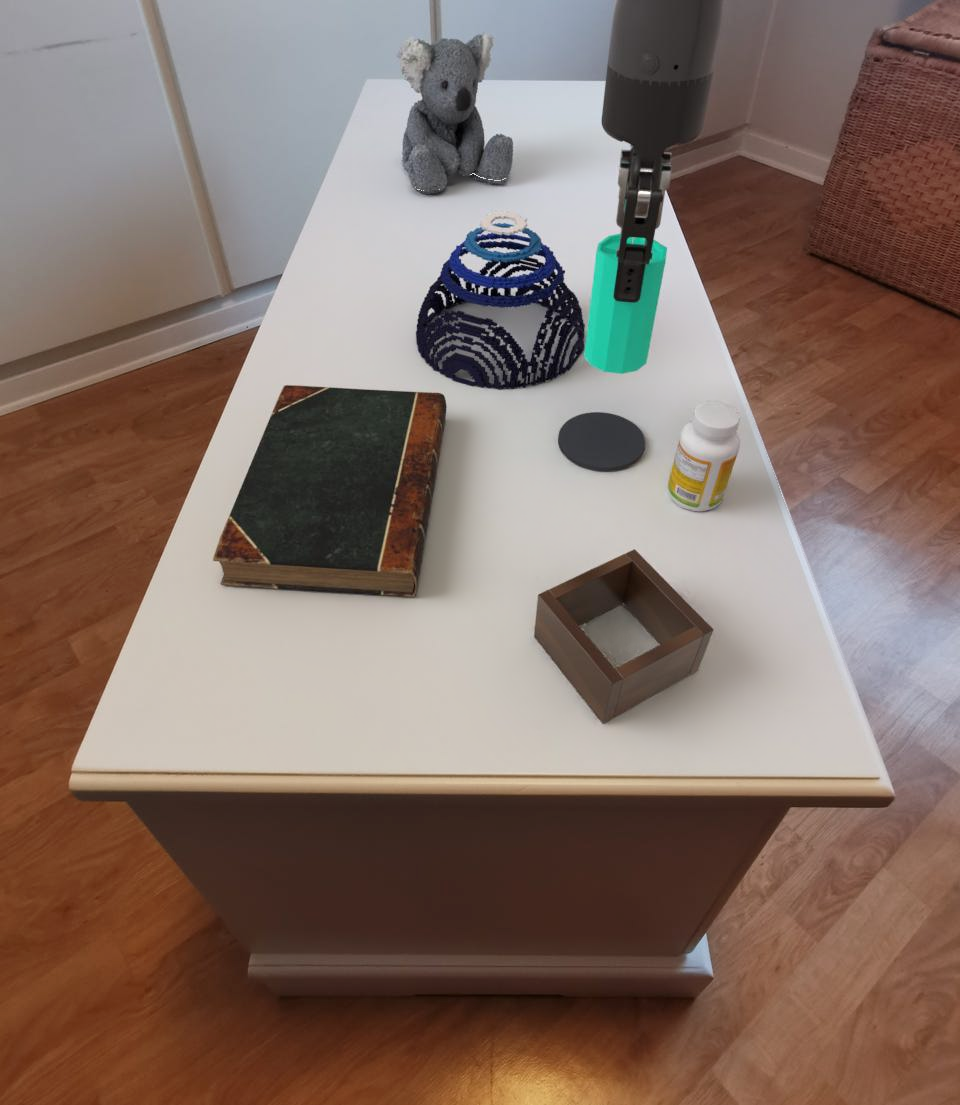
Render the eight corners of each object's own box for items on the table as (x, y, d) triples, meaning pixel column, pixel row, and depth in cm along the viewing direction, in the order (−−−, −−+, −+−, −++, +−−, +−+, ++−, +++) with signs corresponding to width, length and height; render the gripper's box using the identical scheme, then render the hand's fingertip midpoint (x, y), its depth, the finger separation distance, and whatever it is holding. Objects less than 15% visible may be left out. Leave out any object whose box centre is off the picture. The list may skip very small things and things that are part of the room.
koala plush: (415, 201, 120) (407, 56, 105) (381, 158, 131) (370, 22, 116) (518, 184, 124) (524, 43, 110) (476, 144, 135) (477, 11, 121)
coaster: (609, 407, 85) (610, 402, 84) (662, 453, 80) (663, 448, 79) (541, 433, 82) (541, 428, 81) (591, 483, 77) (592, 478, 76)
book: (289, 410, 84) (219, 586, 67) (282, 383, 82) (209, 558, 65) (447, 419, 83) (418, 598, 67) (447, 391, 81) (415, 571, 64)
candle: (611, 381, 70) (631, 254, 61) (570, 350, 73) (583, 225, 64) (661, 360, 72) (686, 235, 63) (619, 331, 76) (638, 208, 67)
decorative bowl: (385, 360, 91) (374, 241, 80) (463, 283, 103) (461, 171, 92) (542, 407, 85) (552, 285, 74) (605, 319, 97) (621, 204, 86)
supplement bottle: (714, 474, 78) (738, 394, 70) (729, 511, 74) (756, 431, 67) (661, 476, 77) (680, 396, 70) (673, 514, 74) (695, 434, 67)
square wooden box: (625, 591, 67) (634, 548, 63) (698, 670, 62) (714, 629, 58) (533, 636, 64) (537, 594, 60) (602, 724, 58) (612, 684, 54)
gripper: (719, 96, 50) (671, 329, 62) (711, 33, 59) (671, 246, 72) (602, 89, 50) (577, 320, 63) (613, 28, 60) (589, 239, 72)
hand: (627, 280), depth 67 cm, fingers closed on candle, 6 cm apart
